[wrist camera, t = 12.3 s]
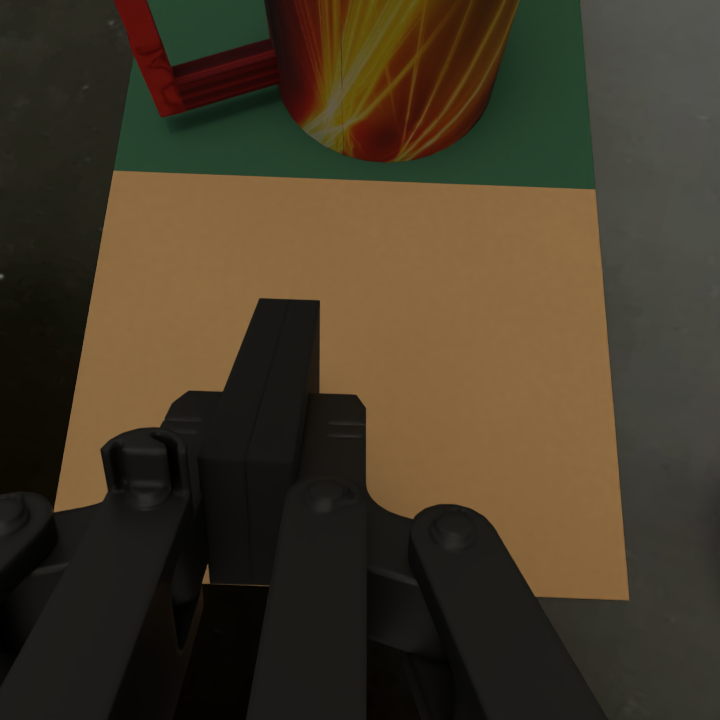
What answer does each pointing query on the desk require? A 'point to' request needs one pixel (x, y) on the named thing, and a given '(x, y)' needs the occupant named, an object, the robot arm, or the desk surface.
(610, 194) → the desk surface
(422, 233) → the desk mat
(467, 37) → the mug
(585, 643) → the desk surface
